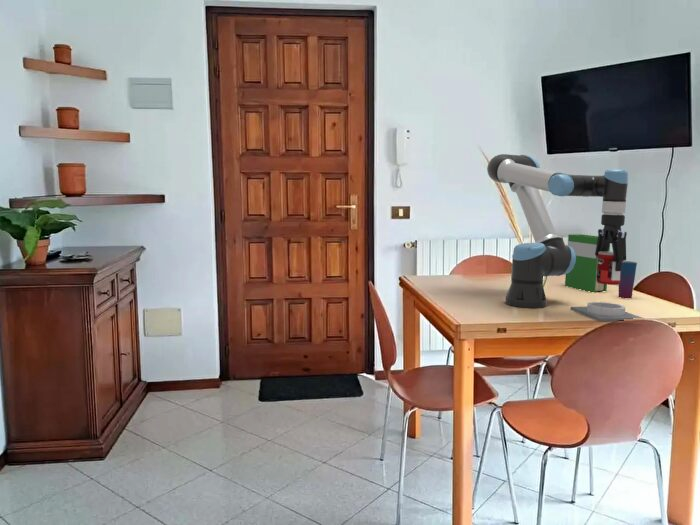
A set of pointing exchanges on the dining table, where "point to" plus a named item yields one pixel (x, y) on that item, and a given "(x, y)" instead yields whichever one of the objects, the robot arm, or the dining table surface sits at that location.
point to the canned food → (606, 268)
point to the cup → (627, 279)
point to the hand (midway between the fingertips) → (608, 278)
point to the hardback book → (584, 264)
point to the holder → (604, 311)
